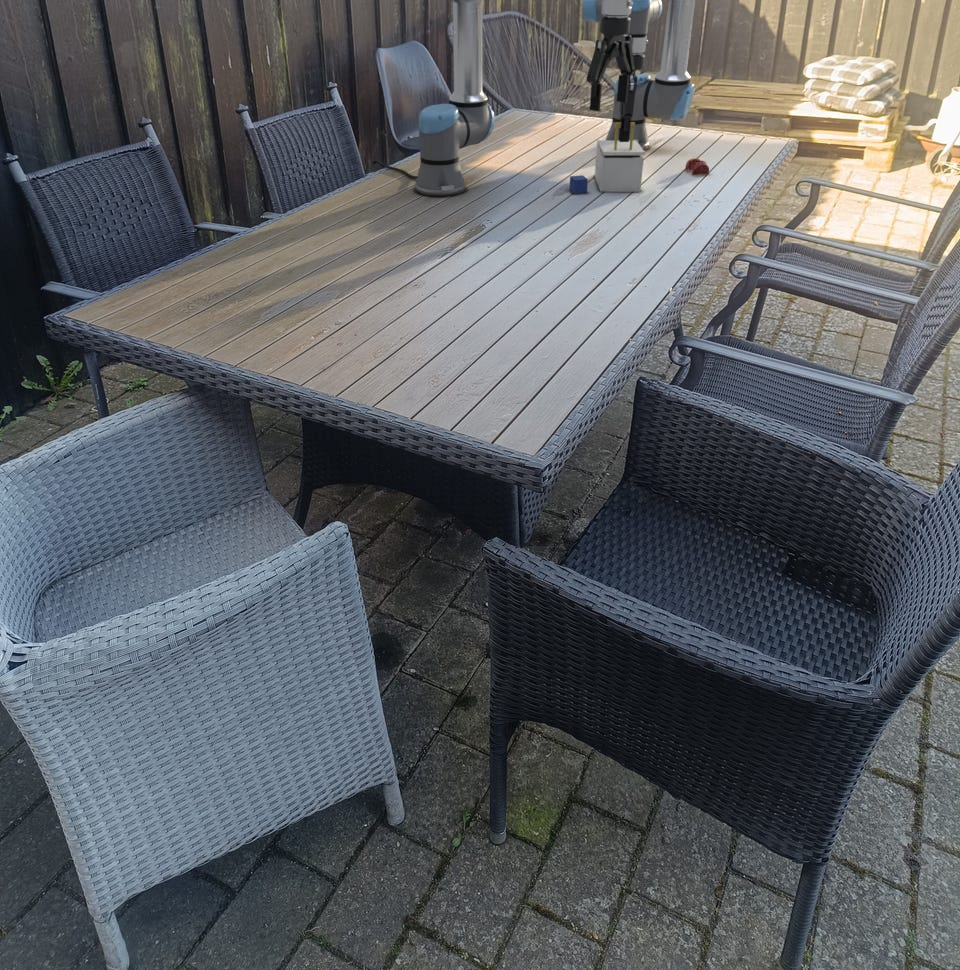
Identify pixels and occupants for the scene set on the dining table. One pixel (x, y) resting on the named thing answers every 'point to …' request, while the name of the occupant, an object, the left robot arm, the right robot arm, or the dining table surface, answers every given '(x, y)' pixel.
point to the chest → (618, 172)
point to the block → (578, 184)
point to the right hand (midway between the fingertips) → (623, 140)
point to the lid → (620, 144)
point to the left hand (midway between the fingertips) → (608, 106)
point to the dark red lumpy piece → (697, 166)
